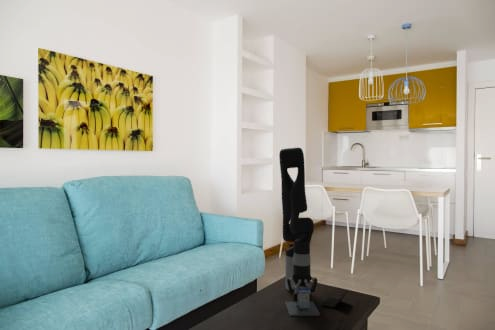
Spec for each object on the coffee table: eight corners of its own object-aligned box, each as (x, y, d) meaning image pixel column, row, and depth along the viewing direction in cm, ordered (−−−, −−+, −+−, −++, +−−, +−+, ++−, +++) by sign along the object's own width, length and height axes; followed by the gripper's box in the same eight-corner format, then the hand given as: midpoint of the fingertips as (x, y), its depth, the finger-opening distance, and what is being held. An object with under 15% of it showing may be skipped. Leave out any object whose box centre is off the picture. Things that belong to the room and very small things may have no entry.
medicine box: (294, 301, 163) (294, 282, 163) (303, 301, 164) (303, 282, 164) (299, 308, 155) (299, 288, 155) (309, 308, 156) (309, 288, 156)
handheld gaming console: (323, 295, 172) (336, 280, 169) (335, 305, 171) (348, 291, 168) (320, 307, 162) (334, 292, 159) (333, 318, 160) (347, 303, 157)
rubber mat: (285, 303, 166) (285, 301, 166) (313, 302, 167) (313, 301, 167) (289, 316, 152) (289, 314, 152) (320, 315, 153) (320, 314, 153)
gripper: (286, 265, 155) (286, 304, 156) (319, 265, 156) (319, 304, 156) (284, 260, 163) (284, 298, 163) (316, 260, 163) (316, 297, 164)
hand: (301, 301), depth 160 cm, fingers closed on medicine box, 4 cm apart
